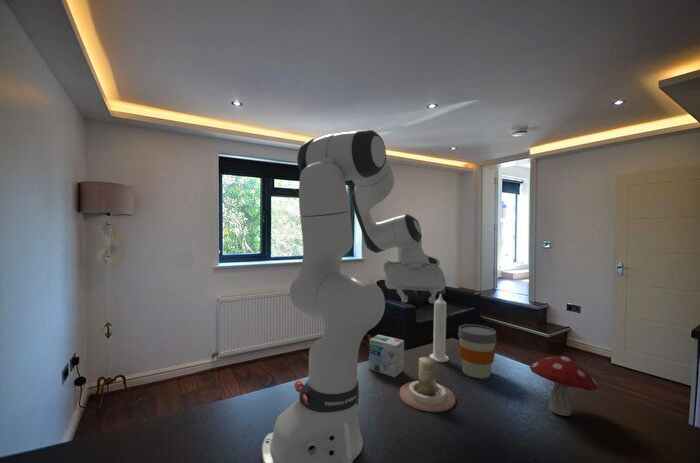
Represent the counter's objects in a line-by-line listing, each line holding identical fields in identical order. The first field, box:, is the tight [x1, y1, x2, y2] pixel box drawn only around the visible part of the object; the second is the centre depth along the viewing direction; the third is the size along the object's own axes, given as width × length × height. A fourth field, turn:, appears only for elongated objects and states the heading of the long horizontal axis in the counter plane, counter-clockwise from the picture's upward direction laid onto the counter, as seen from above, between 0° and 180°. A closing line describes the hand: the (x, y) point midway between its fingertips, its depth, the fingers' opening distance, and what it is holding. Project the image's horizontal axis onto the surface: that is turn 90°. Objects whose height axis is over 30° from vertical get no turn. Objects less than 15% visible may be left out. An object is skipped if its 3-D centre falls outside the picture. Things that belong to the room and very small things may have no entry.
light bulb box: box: [368, 334, 405, 378], centre depth 112 cm, size 11×7×11 cm, turn 55°
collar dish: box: [399, 380, 456, 413], centre depth 95 cm, size 16×16×2 cm
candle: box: [429, 293, 450, 363], centre depth 123 cm, size 7×7×25 cm
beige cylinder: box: [417, 356, 437, 396], centre depth 95 cm, size 5×5×10 cm
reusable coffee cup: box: [457, 323, 498, 379], centre depth 112 cm, size 13×12×15 cm
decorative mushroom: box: [529, 355, 599, 417], centre depth 88 cm, size 16×16×15 cm
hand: (418, 302), depth 100 cm, fingers open, 8 cm apart
